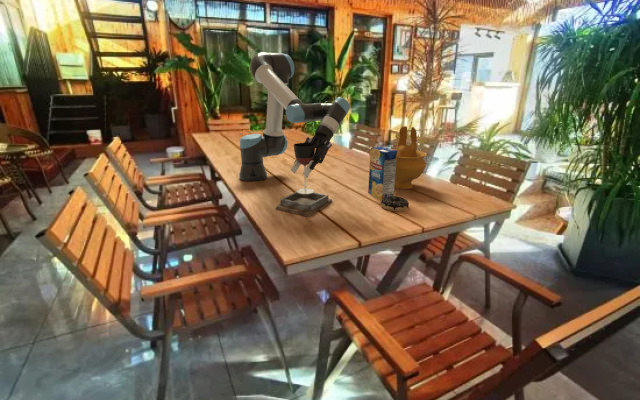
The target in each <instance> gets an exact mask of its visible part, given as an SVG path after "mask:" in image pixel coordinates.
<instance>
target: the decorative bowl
mask: <svg viewBox="0 0 640 400" xmlns="http://www.w3.org/2000/svg"><path fill="white" fill-rule="evenodd" d="M417 134H418V133H417V130H416V128H415V127H414V126H412V127H411V128H410V133H409V135H410V144H409V145H407V139H408V126H407V125H405V126H402V127H400V129H399V140H398V142H397V145H396V149H395V148H394V149H393V148H392V149H393V150H397V163H396V176H395V188H396V189H399V190H400V189H402V190H408V189H412V188H413V184H412V181H414V180H417V179H418V178H419V177H421V175H422V174H423V173H424V171H425V169H426V167H427V163H426V161H425V160H424V158H425V157H427V153H426V152H424V151H420V150H418V143H417V141H418V140H417V139H418V136H417ZM395 188H394V189H395Z"/></svg>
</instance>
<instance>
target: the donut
mask: <svg viewBox="0 0 640 400" xmlns="http://www.w3.org/2000/svg"><path fill="white" fill-rule="evenodd" d="M409 204H410V202H409V201H408V200H407V199H406V198H404V197H402V196H397V195H394V196H389V197H385V198H383V199H382V200H381V201H380V204H379V205H380V206H381V208H382V209H384V210H386V211H390V212H403V211H406V210H408V209H409Z"/></svg>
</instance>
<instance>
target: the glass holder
mask: <svg viewBox="0 0 640 400" xmlns="http://www.w3.org/2000/svg"><path fill="white" fill-rule="evenodd" d="M332 202H333V199H332V198H329V195H328V194H324V193H319V192H315V191H314V192H313V193H310V194H300V193H298V192H297V191H295V192H293V193H291V194H288V195H286V196H284V197H282V198H281V199H280V204H278V205H276V206H275V209H276V210H278V211H283V212H287V213H292V214H295V215H300V216H303V217H307V218H309V217H310V216H311V215H313V214H315V213H317V212H318V211H319V210H321V209H322V208H324V207H326V206H328V205H329V204H331V203H332Z"/></svg>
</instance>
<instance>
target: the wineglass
mask: <svg viewBox="0 0 640 400" xmlns="http://www.w3.org/2000/svg"><path fill="white" fill-rule="evenodd" d="M293 151H294V157H295V161H296V160H297V162H298V163H300V164H301V165H302V166H303V171H304V170H305V169H306V167H307V166H308V164H309V162H310V161H311V160H312V159H313V158H314V154H315V151H316V148H315V144H313V143H304V142H298V143H294V144H293ZM312 161H313V160H312ZM303 176H304V178H303V179H304V182H303V183H304V185H303V186H304V188H299V189H297V190H296V192H298V193H300V194H310V193H313V192H314V193H315V190H314V189H312V188H307V177H306V176H305V175H304V174H303Z"/></svg>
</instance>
